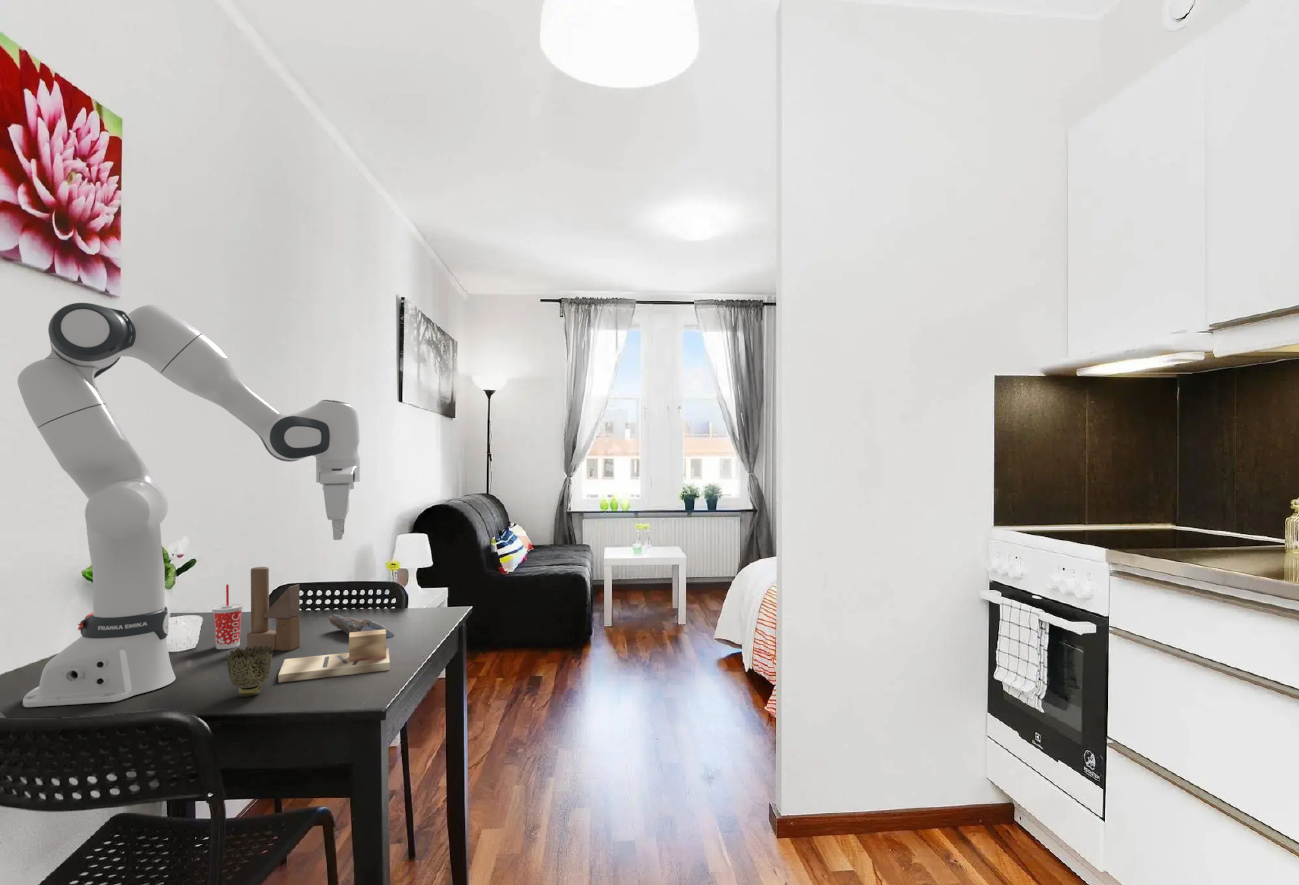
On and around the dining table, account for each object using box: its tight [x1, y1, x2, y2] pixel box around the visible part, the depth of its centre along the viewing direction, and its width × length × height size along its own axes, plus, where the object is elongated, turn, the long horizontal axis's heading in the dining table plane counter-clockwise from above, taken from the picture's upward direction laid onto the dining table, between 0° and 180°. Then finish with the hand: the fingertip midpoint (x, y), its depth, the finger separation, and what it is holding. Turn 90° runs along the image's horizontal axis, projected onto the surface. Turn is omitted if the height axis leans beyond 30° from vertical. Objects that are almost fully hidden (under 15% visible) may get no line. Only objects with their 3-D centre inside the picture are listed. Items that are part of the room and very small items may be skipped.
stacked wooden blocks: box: [246, 566, 301, 652], centre depth 163 cm, size 4×11×18 cm, turn 80°
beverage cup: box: [211, 584, 244, 650], centre depth 165 cm, size 6×6×14 cm
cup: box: [225, 646, 274, 698], centre depth 132 cm, size 8×7×8 cm
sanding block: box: [348, 629, 387, 662], centre depth 149 cm, size 7×4×5 cm, turn 111°
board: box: [277, 648, 391, 683], centre depth 147 cm, size 20×11×2 cm, turn 111°
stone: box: [327, 613, 395, 639], centre depth 174 cm, size 17×5×10 cm
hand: (338, 537), depth 159 cm, fingers open, 8 cm apart
